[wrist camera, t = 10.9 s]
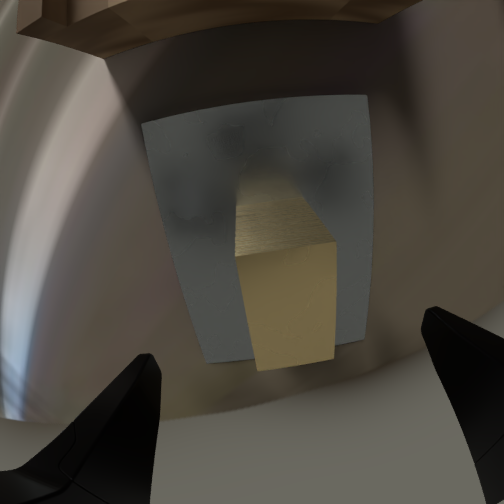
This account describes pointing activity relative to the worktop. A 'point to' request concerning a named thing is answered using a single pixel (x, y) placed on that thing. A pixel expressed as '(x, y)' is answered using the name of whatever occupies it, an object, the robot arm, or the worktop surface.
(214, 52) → the worktop surface
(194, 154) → the cover plate
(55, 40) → the walnut box
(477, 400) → the robot arm
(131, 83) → the worktop surface
